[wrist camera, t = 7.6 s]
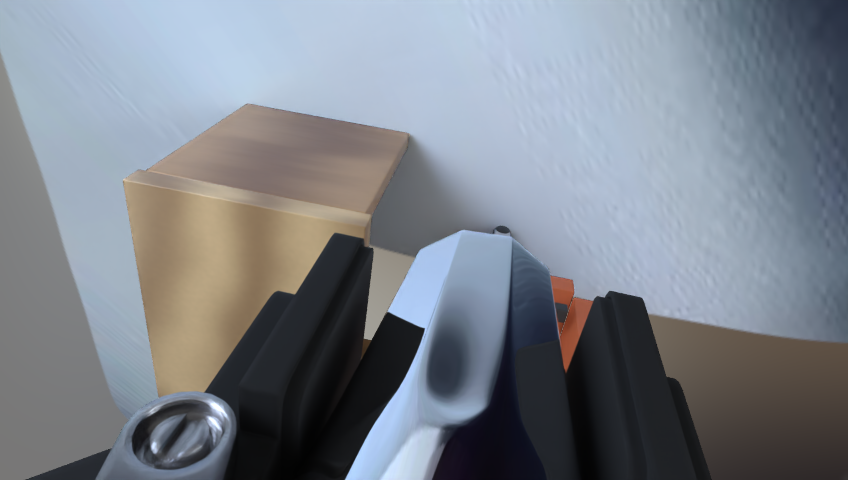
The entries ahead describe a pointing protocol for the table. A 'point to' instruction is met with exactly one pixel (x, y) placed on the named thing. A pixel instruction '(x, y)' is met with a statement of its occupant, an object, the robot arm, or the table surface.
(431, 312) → the milkshake
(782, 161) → the table surface
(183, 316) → the desk
